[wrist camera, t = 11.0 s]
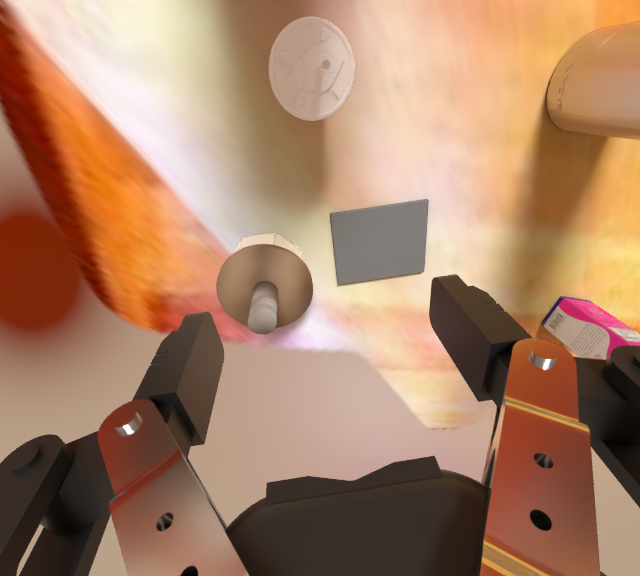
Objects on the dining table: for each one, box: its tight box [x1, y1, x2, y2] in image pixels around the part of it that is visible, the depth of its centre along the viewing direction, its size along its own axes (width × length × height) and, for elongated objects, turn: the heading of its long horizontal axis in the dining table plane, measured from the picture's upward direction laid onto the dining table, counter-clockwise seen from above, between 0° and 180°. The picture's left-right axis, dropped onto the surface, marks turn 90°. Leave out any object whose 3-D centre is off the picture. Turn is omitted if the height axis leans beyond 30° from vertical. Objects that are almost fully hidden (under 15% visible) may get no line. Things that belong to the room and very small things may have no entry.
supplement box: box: [541, 296, 640, 360], centre depth 46 cm, size 6×6×12 cm
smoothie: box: [269, 16, 355, 121], centre depth 25 cm, size 6×6×14 cm
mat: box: [330, 199, 429, 285], centre depth 41 cm, size 12×10×1 cm
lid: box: [216, 244, 313, 334], centre depth 34 cm, size 11×11×7 cm
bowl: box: [231, 233, 303, 261], centre depth 39 cm, size 10×10×5 cm
